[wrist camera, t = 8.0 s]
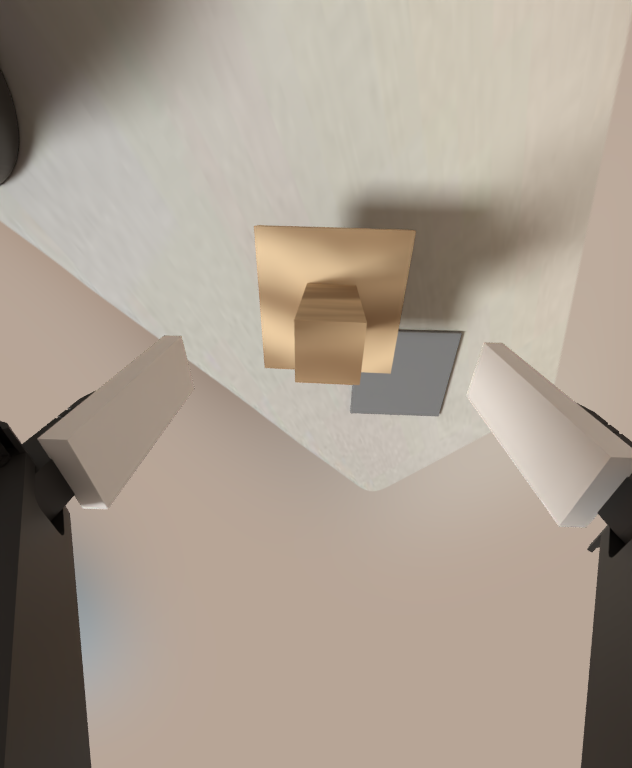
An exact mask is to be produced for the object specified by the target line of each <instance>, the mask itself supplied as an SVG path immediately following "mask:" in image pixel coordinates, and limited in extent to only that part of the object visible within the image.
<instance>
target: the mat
mask: <svg viewBox="0 0 632 768" xmlns="http://www.w3.org/2000/svg"><path fill="white" fill-rule="evenodd" d="M461 334H462V333H461V332H442V331H403V330H398V335H397V341H396V346H395V352H394V358H393V363H392V369H391V374H389V373H367V372H361V378H360V385H353V386H352V398H351V410H350V412H351V413H362V414H390V415H417V416H439V412H440V409H441V405H442V402H443V398H444V395H445V391H446V388H447V384H448V380H449V377H450V373H451V370H452V366H453V363H454V359H455V356H456V352H457V348H458V345H459V341H460V338H461Z"/></svg>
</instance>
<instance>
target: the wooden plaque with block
mask: <svg viewBox="0 0 632 768" xmlns="http://www.w3.org/2000/svg"><path fill="white" fill-rule="evenodd" d="M254 233H255V246H256V259H257V272H258V285H259V298H260V311H261V324H262V337H263V350H264V363H265V368H278V369H295V382H302V383H324V384H345V385H360V378H361V372H367V373H389V374H391V369H392V363H393V358H394V352H395V346H396V341H397V335H398V330H399V324H400V318H401V313H402V307H403V302H404V296H405V290H406V285H407V279H408V273H409V268H410V262H411V257H412V251H413V245H414V240H415V234H416V231H415V230H401V229H367V228H333V227H299V226H264V225H257V226H254Z"/></svg>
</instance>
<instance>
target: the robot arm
mask: <svg viewBox="0 0 632 768" xmlns="http://www.w3.org/2000/svg"><path fill="white" fill-rule="evenodd" d="M18 146H19V133H18V124H17V118H16V113H15V109H14V105H13V101H12V98H11V95H10V92H9V89H8V87H7V84H6V82H5V79H4V77H3V75H2V73H1V71H0V184H1V183H3V182H4V181H5V180H6V179H7V178H8V176H9V175H10V173H11V172H12V170H13V168H14V165H15V163H16V159H17V155H18ZM194 389H195V388H194V384H193V380H192V377H191V372H190V368H189V364H188V360H187V356H186V352H185V348H184V344H183V340H182V336H163V337H162V338H161V339H159V340H158V341H157V342H156V343H154V344H153V345H152V346H151V347H150V348H148V349H147V350H146V351H145V352H143V353H142V354H141V355H140V356H138V357H137V358H136V359H135V360H134V361H132V362H131V363H130V364H129V365H127V366H126V367H125V368H124V369H123V370H121V371H120V372H119V373H118V374H116V375H115V376H114V377H113V378H111V379H110V380H109V381H108V382H106V383H105V384H104V385H103V386H102V387H101V388H99V389H98V390H97V391H94V392H92V393H90V394H88V395H86V396H84V397H82V398H80V399H79V400H78V401H76V402H75V403H74V404H73V405H71V406H70V407H69V408H68V410H65V411H64V412H62V413H61V414H60V415H59V416H58V418H55V419H54V420H52V421H51V422H50V423H48V424H47V425H46V426H45V427H43V428H42V429H41V430H40V431H38V432H37V433H36V434H35V435H33V436H32V437H31V438H29V439H28V440H27V441H26V442H24V443H23V444H21V442H20V441H19V439H18V438H17V437H16V435H15V434H14V433H13V431H12V429H11V428H10V427H9V425H8V424H7V423H5V422H1V421H0V768H91V760H90V748H89V736H88V723H87V712H86V700H85V689H84V676H83V664H82V653H81V640H80V628H79V616H78V604H77V593H76V580H75V569H74V558H73V557H74V556H73V546H72V533H71V521H70V513H69V511H68V509H67V508H66V506H65V505H66V504H67V503H68V502H69V501H70V499H71V498H72V497H73V496H75V497H76V499H77V500H78V502H79V503H80V505H81V506H82V508H89V509H108V508H109V507H110V506H111V504H112V503H113V501H114V500H115V499H116V497H117V496H118V495H119V493H120V492H121V490H122V489H123V488H124V486H125V485H126V483H127V482H128V480H129V479H130V478H131V476H132V475H133V474H134V472H135V471H136V469H137V468H138V466H139V465H140V464H141V463H142V461H143V460H144V458H145V457H146V456H147V454H148V453H149V451H150V450H151V449H152V447H153V446H154V444H155V443H156V442H157V440H158V439H159V437H160V436H161V435H162V433H163V432H164V430H165V429H166V427H167V426H168V425H169V424H170V422H171V420H172V419H173V418H174V416H175V415H176V414H177V412H178V411H179V409H180V408H181V407H182V405H183V404H184V403H185V401H186V400H187V398H188V397H189V396H190V394H191V393H192V391H193V390H194ZM466 396H467V398H468V399H469V401H470V402H471V403H472V405H473V406H474V408H475V409H476V410H477V412H478V413H479V415H480V416H481V417H482V419H483V420H484V422H485V423H486V424H487V426H488V427H489V429H490V430H491V432H492V433H493V434H494V436H495V437H496V439H497V440H498V441H499V443H500V444H501V446H502V447H503V448H504V450H505V451H506V453H507V454H508V455H509V457H510V458H511V460H512V461H513V463H514V464H515V465H516V467H517V468H518V469H519V471H520V472H521V474H522V475H523V477H524V478H525V479H526V481H527V482H528V484H529V485H530V486H531V488H532V489H533V491H534V492H535V494H536V495H537V496H538V498H539V499H540V501H541V502H542V503H543V505H544V506H545V507H546V509H547V510H548V512H549V513H550V515H551V516H552V517H553V519H554V520H555V522H556V523H557V524H558V526H559V527H585V528H586V527H587V526H588V525H589V524H590V522H591V521H592V520H593V519H594V518H595V517H596V515H597V514H599V515H600V516H601V518H602V519H603V520H604V521H605V522H606V523H607V526H606V528H605V529H604V530H603V531H602V532H601V533H600V534H599V535H598V537H597V538H596V539H595V540H594V541H593V542H592V543H591V544H590V546H589V548H588V550H589V551H590V552H593V551H594V550H595V549H596V548H598V547H600V553H599V564H598V576H597V587H596V599H595V611H594V622H593V635H592V646H591V658H590V669H589V682H588V693H587V705H586V716H585V727H584V739H583V751H582V763H581V768H632V442H631V441H630V440H629V439H628V438H626V437H625V436H624V435H623V434H619V431H618V430H616V429H615V428H614V427H612V426H611V425H608V423H607V422H606V421H605V420H604V419H602V418H601V417H600V416H599V415H597V414H596V413H595V412H593V411H591V410H589V409H587V408H586V407H584V406H582V405H580V404H578V403H576V402H575V401H573V400H572V399H571V398H569V397H568V396H567V395H566V394H565V393H563V392H562V391H561V390H560V389H558V388H557V387H556V386H555V385H554V384H552V383H551V382H550V381H549V380H547V379H546V378H545V377H544V376H542V375H541V374H540V373H539V372H538V371H536V370H535V369H534V368H533V367H531V366H530V365H529V364H528V363H526V362H525V361H524V360H523V359H522V358H520V357H519V356H518V355H517V354H515V353H514V352H513V351H512V350H510V349H509V348H508V347H507V346H505V345H504V344H503V343H484V344H483V347H482V350H481V353H480V356H479V359H478V362H477V365H476V368H475V371H474V374H473V377H472V380H471V383H470V386H469V389H468V392H467V395H466Z"/></svg>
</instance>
